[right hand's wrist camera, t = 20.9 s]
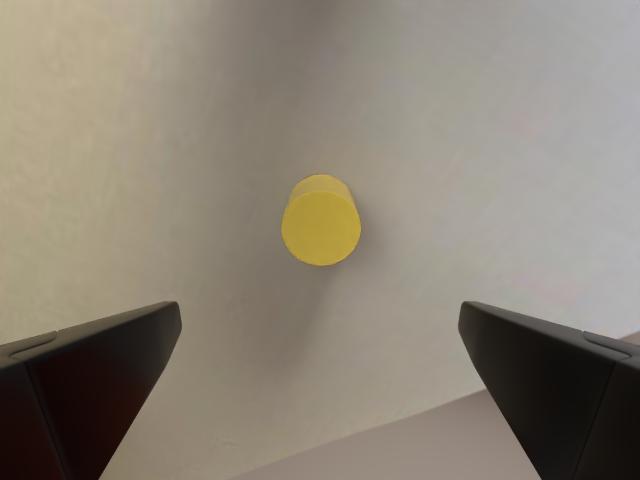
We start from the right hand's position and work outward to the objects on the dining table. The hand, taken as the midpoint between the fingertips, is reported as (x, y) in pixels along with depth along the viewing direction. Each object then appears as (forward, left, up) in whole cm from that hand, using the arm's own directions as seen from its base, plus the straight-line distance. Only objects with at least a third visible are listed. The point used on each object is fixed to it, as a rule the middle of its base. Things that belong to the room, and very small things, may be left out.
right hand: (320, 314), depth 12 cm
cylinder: (0, 0, -12) cm, 12 cm away
